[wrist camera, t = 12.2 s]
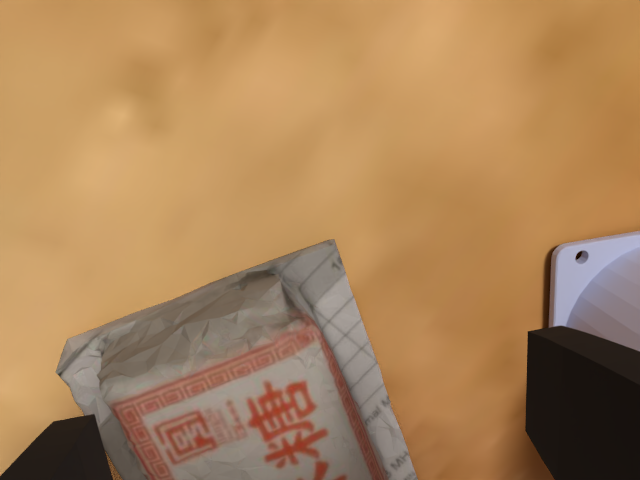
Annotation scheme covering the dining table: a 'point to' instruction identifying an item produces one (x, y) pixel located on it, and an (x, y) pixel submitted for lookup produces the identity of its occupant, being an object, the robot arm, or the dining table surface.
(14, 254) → the dining table surface
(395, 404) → the dining table surface
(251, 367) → the packaged product
